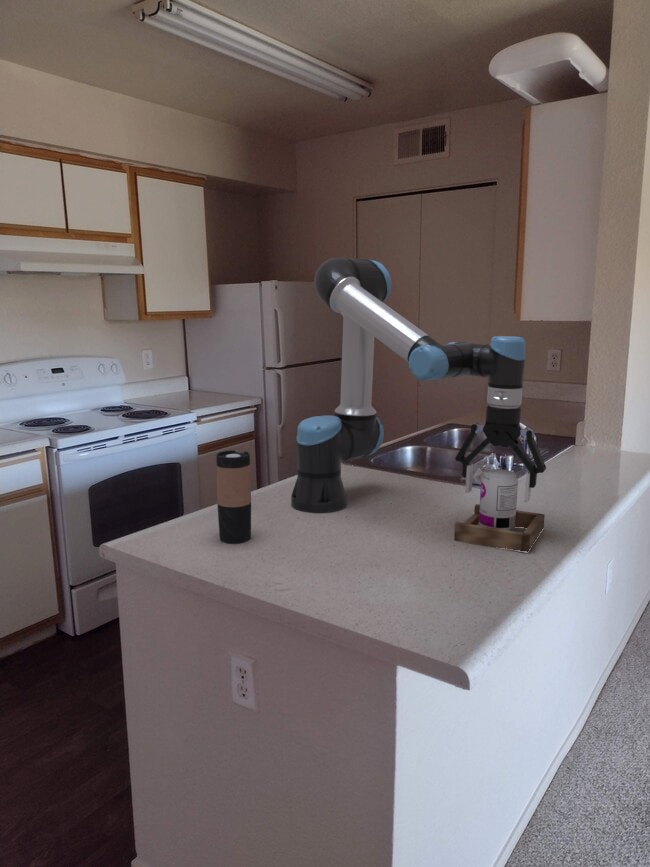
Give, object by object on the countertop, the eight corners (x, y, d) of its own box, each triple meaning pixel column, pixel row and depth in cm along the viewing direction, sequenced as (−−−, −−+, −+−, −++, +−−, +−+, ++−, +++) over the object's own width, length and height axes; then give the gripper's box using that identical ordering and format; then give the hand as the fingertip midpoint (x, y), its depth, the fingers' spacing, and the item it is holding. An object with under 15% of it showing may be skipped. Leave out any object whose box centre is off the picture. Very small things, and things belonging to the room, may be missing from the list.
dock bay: (454, 540, 148) (454, 523, 147) (475, 519, 162) (476, 504, 162) (527, 553, 140) (529, 536, 139) (543, 530, 155) (544, 514, 154)
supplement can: (475, 538, 149) (479, 475, 146) (481, 527, 157) (484, 467, 154) (512, 543, 146) (516, 479, 143) (516, 531, 154) (519, 470, 151)
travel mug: (224, 546, 144) (222, 459, 140) (214, 535, 151) (211, 452, 147) (256, 540, 148) (255, 455, 144) (245, 530, 154) (243, 448, 150)
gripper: (445, 402, 148) (440, 491, 153) (558, 413, 136) (549, 509, 141) (455, 398, 155) (450, 483, 159) (564, 408, 143) (556, 500, 147)
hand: (497, 496), depth 150 cm, fingers open, 13 cm apart
